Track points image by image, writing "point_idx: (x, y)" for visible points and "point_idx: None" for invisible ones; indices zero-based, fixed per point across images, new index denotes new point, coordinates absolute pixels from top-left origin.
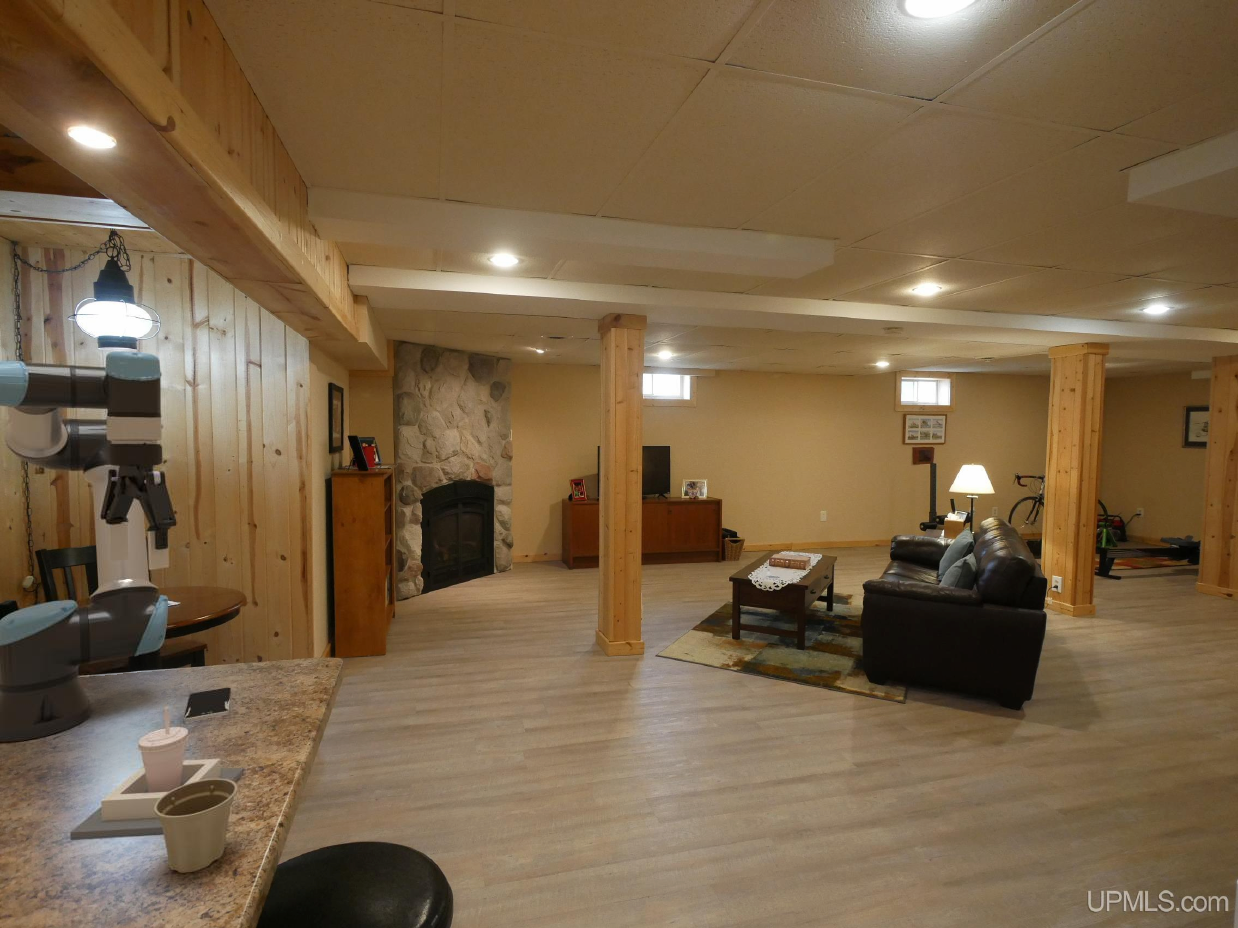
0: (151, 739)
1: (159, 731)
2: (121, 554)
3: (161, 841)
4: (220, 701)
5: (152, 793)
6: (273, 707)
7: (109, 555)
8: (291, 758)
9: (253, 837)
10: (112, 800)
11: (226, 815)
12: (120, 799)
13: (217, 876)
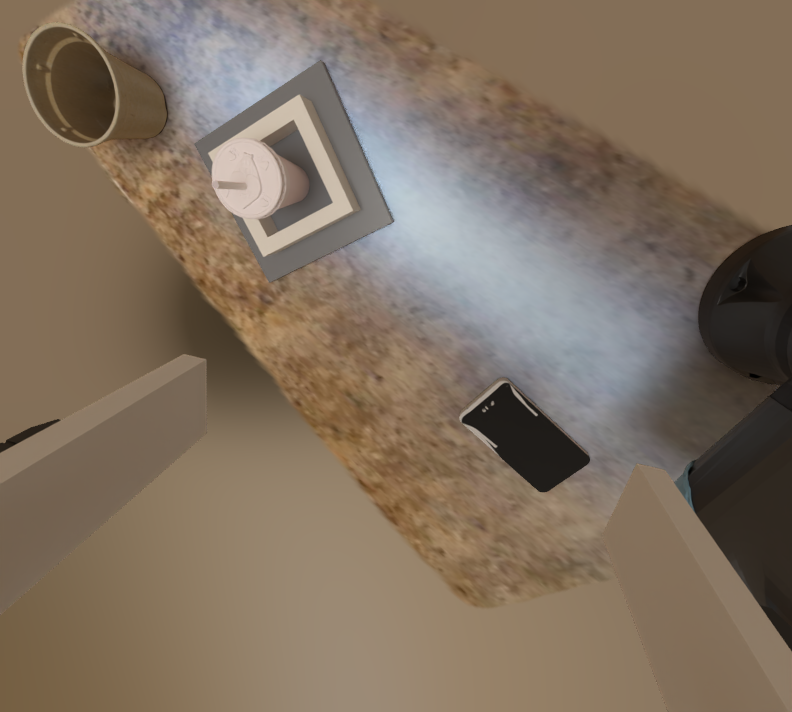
0: (247, 158)
1: (274, 192)
2: (624, 533)
3: (212, 113)
4: (506, 445)
5: None
6: (413, 452)
7: (668, 491)
8: (252, 332)
9: (128, 167)
10: (286, 103)
11: (68, 113)
12: (277, 109)
13: None
